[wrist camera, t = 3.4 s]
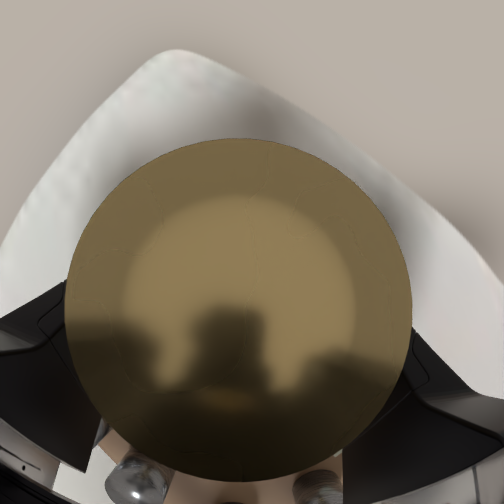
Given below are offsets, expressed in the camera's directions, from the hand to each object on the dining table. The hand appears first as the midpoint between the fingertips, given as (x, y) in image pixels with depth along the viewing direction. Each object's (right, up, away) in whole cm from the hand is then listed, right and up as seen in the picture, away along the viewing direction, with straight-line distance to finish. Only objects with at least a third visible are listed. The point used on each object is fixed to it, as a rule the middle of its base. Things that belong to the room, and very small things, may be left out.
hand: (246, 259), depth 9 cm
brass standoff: (0, -2, +6) cm, 6 cm away
